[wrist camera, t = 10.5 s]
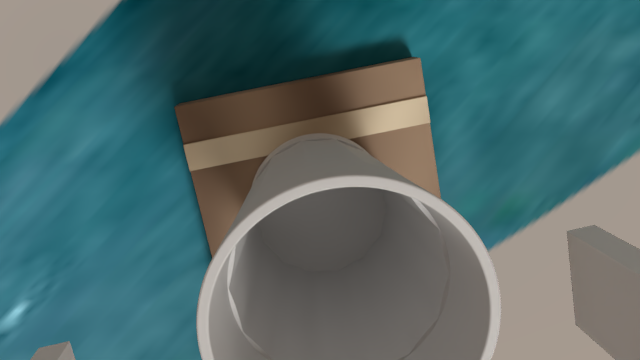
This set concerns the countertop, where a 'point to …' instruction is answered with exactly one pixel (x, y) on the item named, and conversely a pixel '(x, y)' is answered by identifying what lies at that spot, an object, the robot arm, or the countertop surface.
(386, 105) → the striped wooden coaster
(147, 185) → the countertop surface
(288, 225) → the cup
